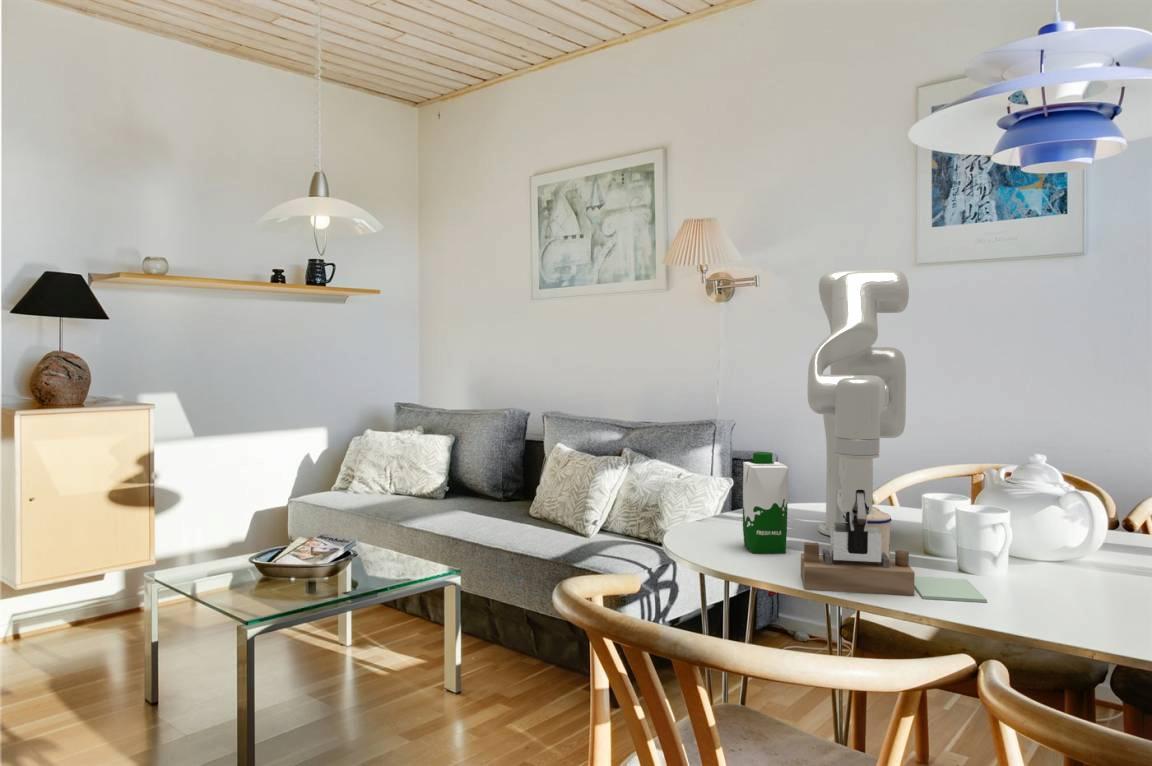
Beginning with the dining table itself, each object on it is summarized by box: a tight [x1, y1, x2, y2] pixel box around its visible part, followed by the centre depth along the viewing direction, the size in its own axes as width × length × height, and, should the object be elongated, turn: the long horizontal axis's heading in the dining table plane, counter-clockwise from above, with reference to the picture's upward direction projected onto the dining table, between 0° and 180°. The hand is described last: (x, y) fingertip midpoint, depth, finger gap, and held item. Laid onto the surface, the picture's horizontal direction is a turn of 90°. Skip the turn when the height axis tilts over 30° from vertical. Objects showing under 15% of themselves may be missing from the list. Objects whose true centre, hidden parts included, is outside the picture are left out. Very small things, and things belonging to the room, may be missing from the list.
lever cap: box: [829, 523, 882, 562], centre depth 141 cm, size 5×8×6 cm, turn 78°
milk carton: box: [742, 451, 789, 554], centre depth 166 cm, size 9×9×20 cm
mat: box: [914, 575, 988, 603], centre depth 138 cm, size 12×10×1 cm
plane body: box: [800, 541, 915, 597], centre depth 141 cm, size 9×18×7 cm, turn 78°
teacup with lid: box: [842, 502, 893, 558], centre depth 160 cm, size 12×9×12 cm
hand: (855, 548), depth 141 cm, fingers closed on lever cap, 5 cm apart
